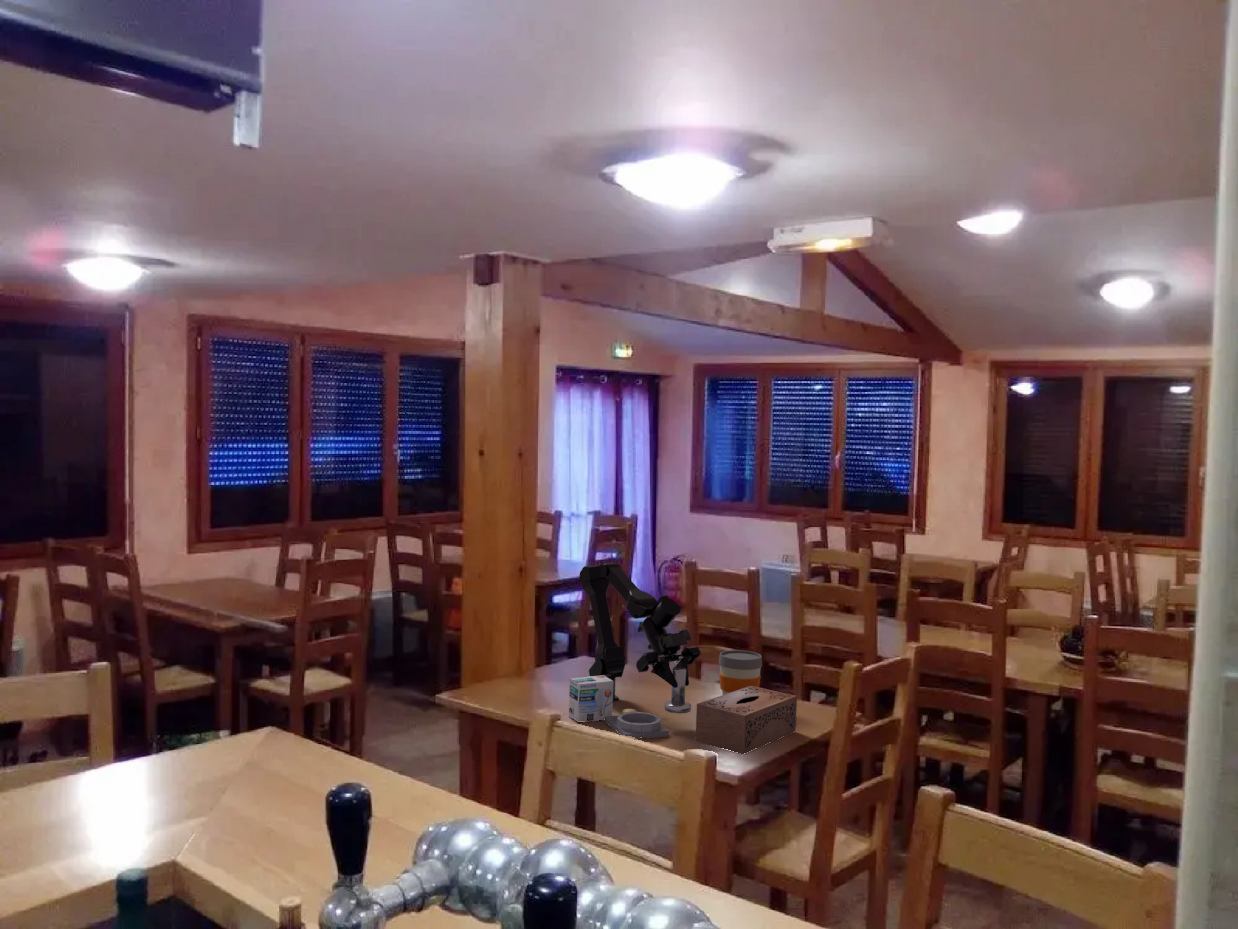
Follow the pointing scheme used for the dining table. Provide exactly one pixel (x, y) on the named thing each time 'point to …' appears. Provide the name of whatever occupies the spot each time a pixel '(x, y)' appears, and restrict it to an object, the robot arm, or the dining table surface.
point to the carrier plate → (634, 734)
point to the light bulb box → (590, 698)
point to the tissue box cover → (745, 719)
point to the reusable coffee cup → (739, 670)
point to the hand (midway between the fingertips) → (682, 686)
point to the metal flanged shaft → (678, 693)
